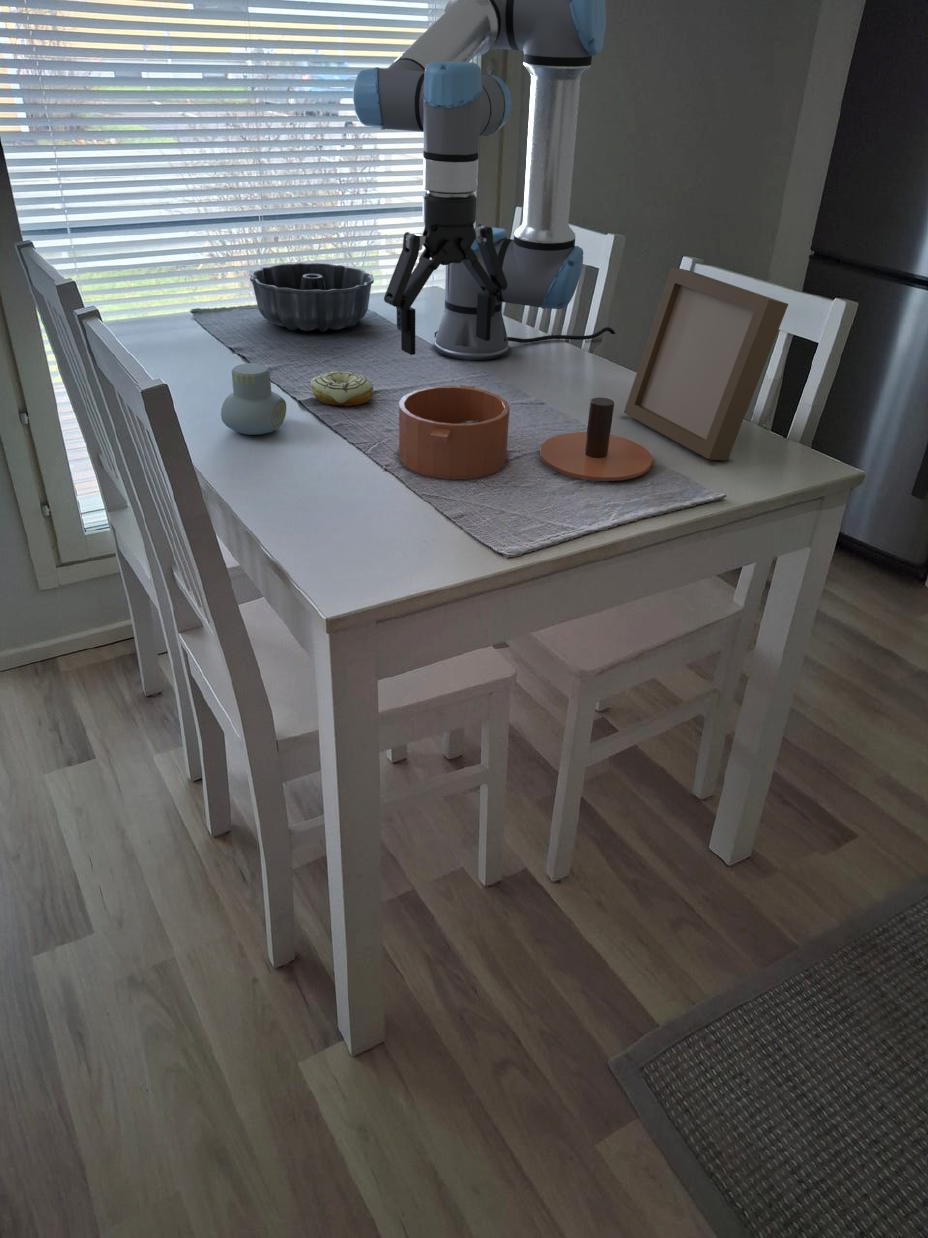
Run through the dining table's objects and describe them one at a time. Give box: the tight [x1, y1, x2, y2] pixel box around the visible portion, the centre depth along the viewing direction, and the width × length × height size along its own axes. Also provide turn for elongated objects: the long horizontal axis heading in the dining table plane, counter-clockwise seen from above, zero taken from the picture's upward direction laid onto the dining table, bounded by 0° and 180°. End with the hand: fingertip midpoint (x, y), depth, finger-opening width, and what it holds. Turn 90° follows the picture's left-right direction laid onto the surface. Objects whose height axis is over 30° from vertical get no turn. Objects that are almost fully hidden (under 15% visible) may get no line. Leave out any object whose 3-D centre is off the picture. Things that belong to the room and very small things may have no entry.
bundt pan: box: [249, 262, 375, 333], centre depth 197 cm, size 26×26×10 cm
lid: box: [539, 396, 653, 482], centre depth 140 cm, size 18×18×10 cm
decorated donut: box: [310, 370, 374, 407], centre depth 160 cm, size 10×11×4 cm
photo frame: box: [623, 266, 789, 462], centre depth 147 cm, size 15×22×25 cm
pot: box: [398, 384, 510, 480], centre depth 139 cm, size 17×22×8 cm
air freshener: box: [220, 362, 287, 436], centre depth 145 cm, size 11×8×10 cm
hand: (446, 345), depth 137 cm, fingers open, 13 cm apart
